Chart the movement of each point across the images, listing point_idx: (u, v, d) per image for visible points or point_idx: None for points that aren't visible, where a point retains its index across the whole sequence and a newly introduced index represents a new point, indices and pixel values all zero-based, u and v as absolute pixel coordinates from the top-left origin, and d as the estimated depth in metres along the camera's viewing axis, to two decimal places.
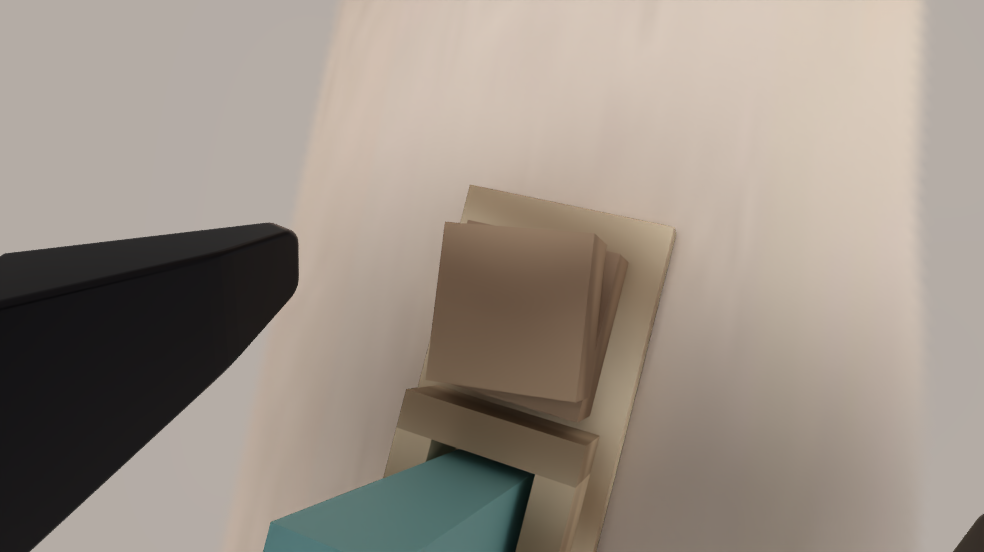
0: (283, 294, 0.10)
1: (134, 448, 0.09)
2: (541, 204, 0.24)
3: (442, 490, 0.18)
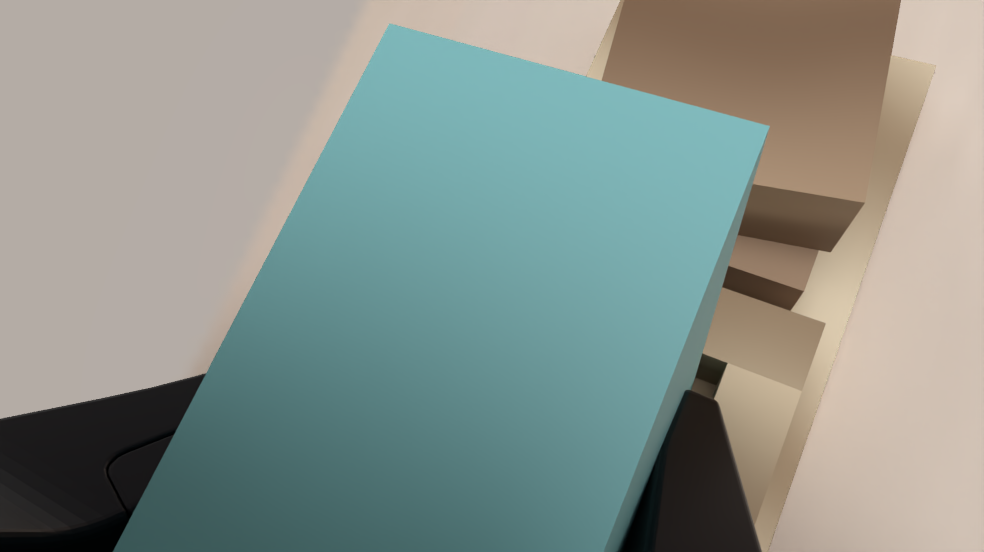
0: None
1: None
2: None
3: None
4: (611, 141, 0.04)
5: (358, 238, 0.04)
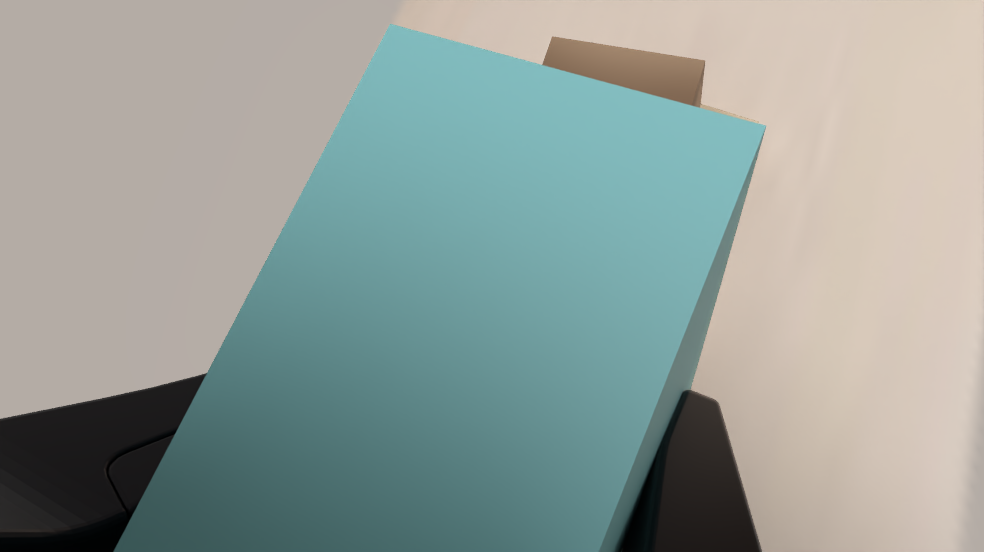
0: None
1: None
2: None
3: None
4: (608, 140, 0.04)
5: (359, 236, 0.04)
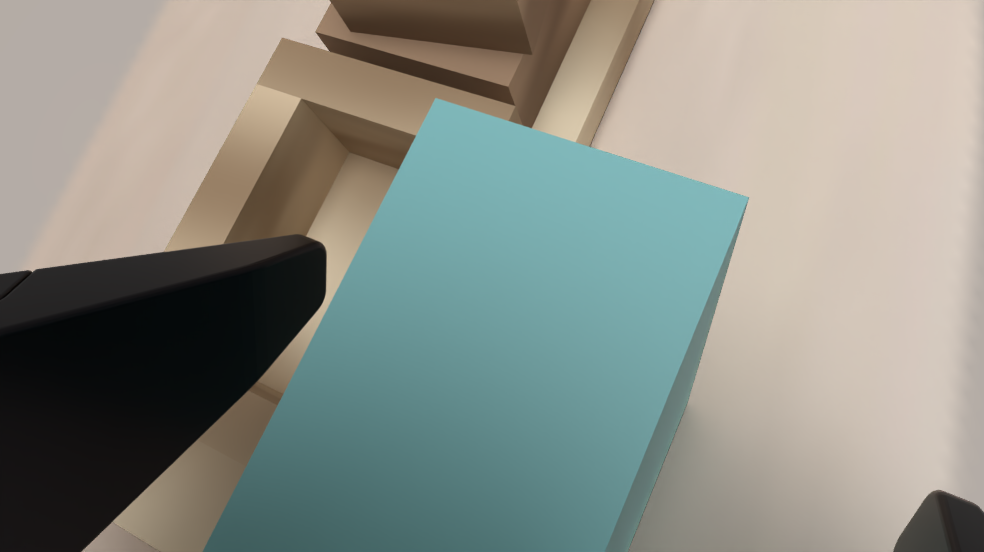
0: (311, 306, 0.10)
1: (164, 465, 0.09)
2: None
3: None
4: (618, 205, 0.05)
5: (411, 280, 0.05)
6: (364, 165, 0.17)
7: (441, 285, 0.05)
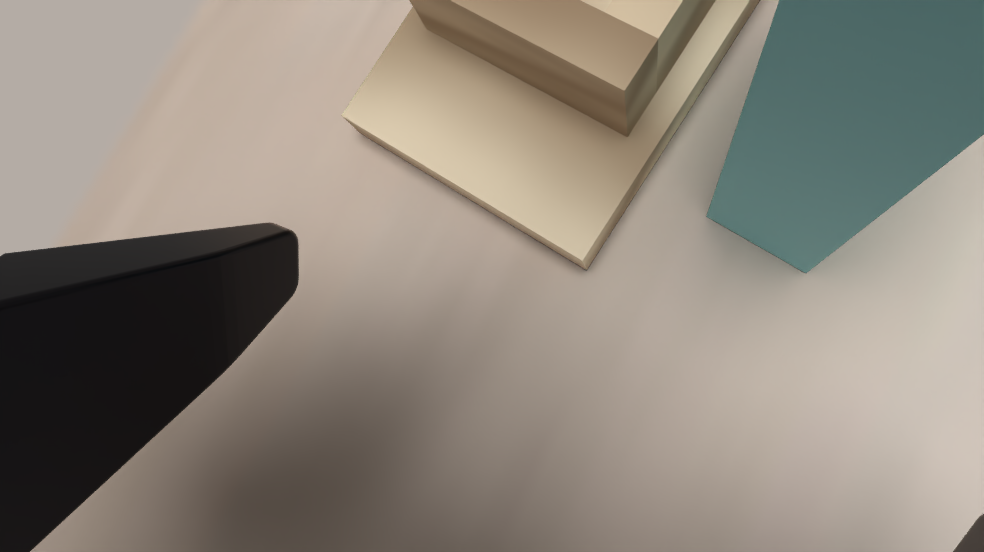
0: (283, 294, 0.10)
1: (134, 448, 0.09)
2: None
3: None
4: None
5: None
6: None
7: None
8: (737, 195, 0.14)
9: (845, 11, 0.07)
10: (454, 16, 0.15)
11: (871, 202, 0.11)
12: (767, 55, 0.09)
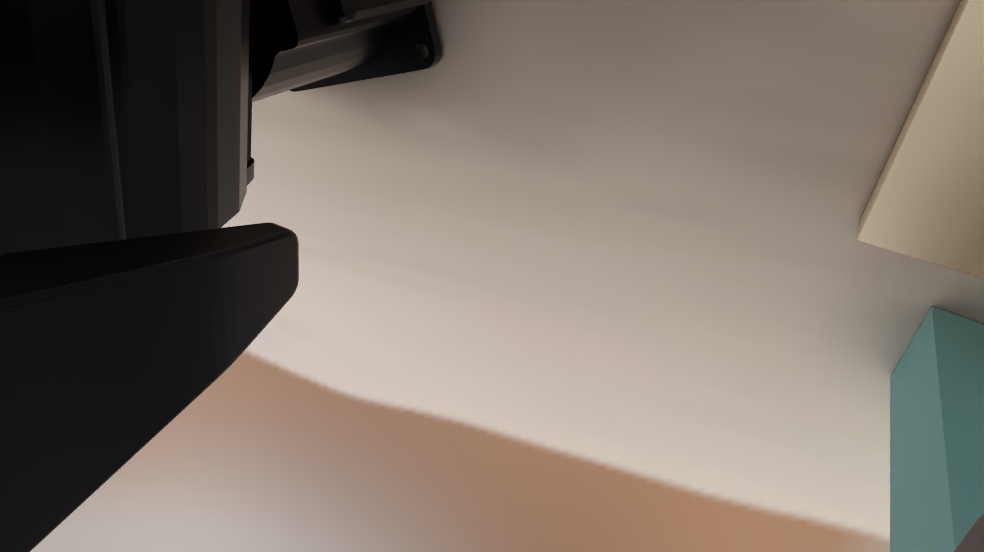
0: (283, 294, 0.10)
1: (134, 448, 0.09)
2: None
3: None
4: None
5: None
6: None
7: None
8: (927, 370, 0.17)
9: None
10: None
11: (894, 499, 0.16)
12: (949, 516, 0.13)
